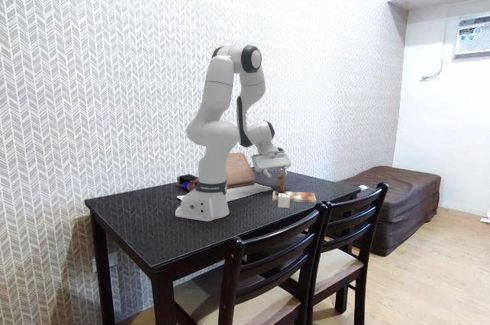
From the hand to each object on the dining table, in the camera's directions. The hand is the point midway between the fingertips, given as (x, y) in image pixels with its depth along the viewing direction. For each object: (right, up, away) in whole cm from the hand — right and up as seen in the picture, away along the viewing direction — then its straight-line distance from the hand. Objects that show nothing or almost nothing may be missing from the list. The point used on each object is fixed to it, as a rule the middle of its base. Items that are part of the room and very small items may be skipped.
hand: (278, 176), depth 146 cm
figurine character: (-46, -7, +11) cm, 48 cm away
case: (-24, -5, +24) cm, 34 cm away
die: (+1, -13, -11) cm, 17 cm away
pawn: (+1, -9, 0) cm, 9 cm away
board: (+8, -10, -1) cm, 13 cm away
